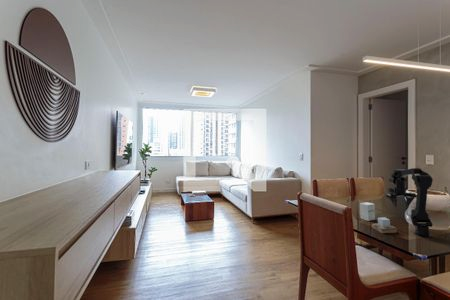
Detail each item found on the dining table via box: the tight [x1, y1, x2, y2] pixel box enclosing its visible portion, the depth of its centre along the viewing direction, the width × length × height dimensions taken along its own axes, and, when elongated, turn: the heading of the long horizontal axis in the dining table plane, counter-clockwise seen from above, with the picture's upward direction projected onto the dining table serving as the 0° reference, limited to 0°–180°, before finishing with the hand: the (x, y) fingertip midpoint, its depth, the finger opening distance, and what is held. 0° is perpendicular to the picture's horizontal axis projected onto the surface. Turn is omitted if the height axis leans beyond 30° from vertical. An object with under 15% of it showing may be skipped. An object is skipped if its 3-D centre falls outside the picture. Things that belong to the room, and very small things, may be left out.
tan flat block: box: [371, 222, 398, 234], centre depth 156 cm, size 10×10×3 cm
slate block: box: [377, 216, 391, 227], centre depth 156 cm, size 5×5×5 cm
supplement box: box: [359, 201, 376, 222], centre depth 179 cm, size 7×7×13 cm
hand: (401, 207), depth 166 cm, fingers open, 9 cm apart
